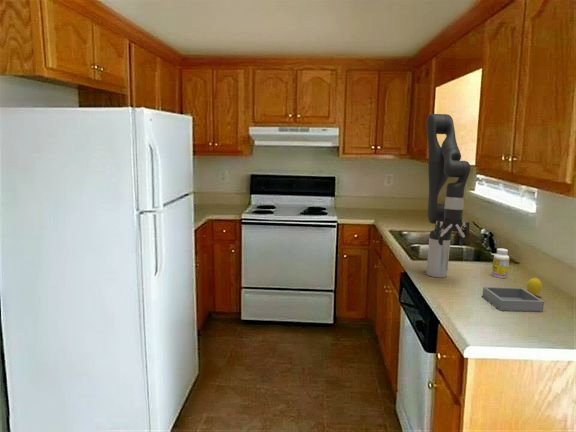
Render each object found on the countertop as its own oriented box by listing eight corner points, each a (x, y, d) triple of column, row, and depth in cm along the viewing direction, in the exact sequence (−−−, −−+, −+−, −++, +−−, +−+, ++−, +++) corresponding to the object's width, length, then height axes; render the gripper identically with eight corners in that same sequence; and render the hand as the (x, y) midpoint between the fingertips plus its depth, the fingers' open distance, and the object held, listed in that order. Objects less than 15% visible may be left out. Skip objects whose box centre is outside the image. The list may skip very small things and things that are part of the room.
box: (482, 296, 195) (483, 286, 195) (521, 297, 196) (522, 288, 195) (500, 310, 180) (501, 300, 179) (542, 311, 180) (544, 301, 180)
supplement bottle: (490, 273, 230) (493, 247, 227) (504, 274, 229) (507, 248, 226) (493, 277, 223) (496, 250, 221) (508, 278, 222) (512, 251, 220)
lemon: (542, 296, 198) (545, 277, 197) (538, 299, 194) (540, 280, 193) (528, 293, 202) (530, 274, 201) (523, 295, 198) (526, 277, 197)
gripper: (466, 207, 210) (463, 244, 212) (434, 206, 209) (431, 243, 211) (473, 209, 202) (470, 247, 204) (440, 208, 202) (437, 246, 204)
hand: (450, 245), depth 208 cm, fingers open, 8 cm apart
